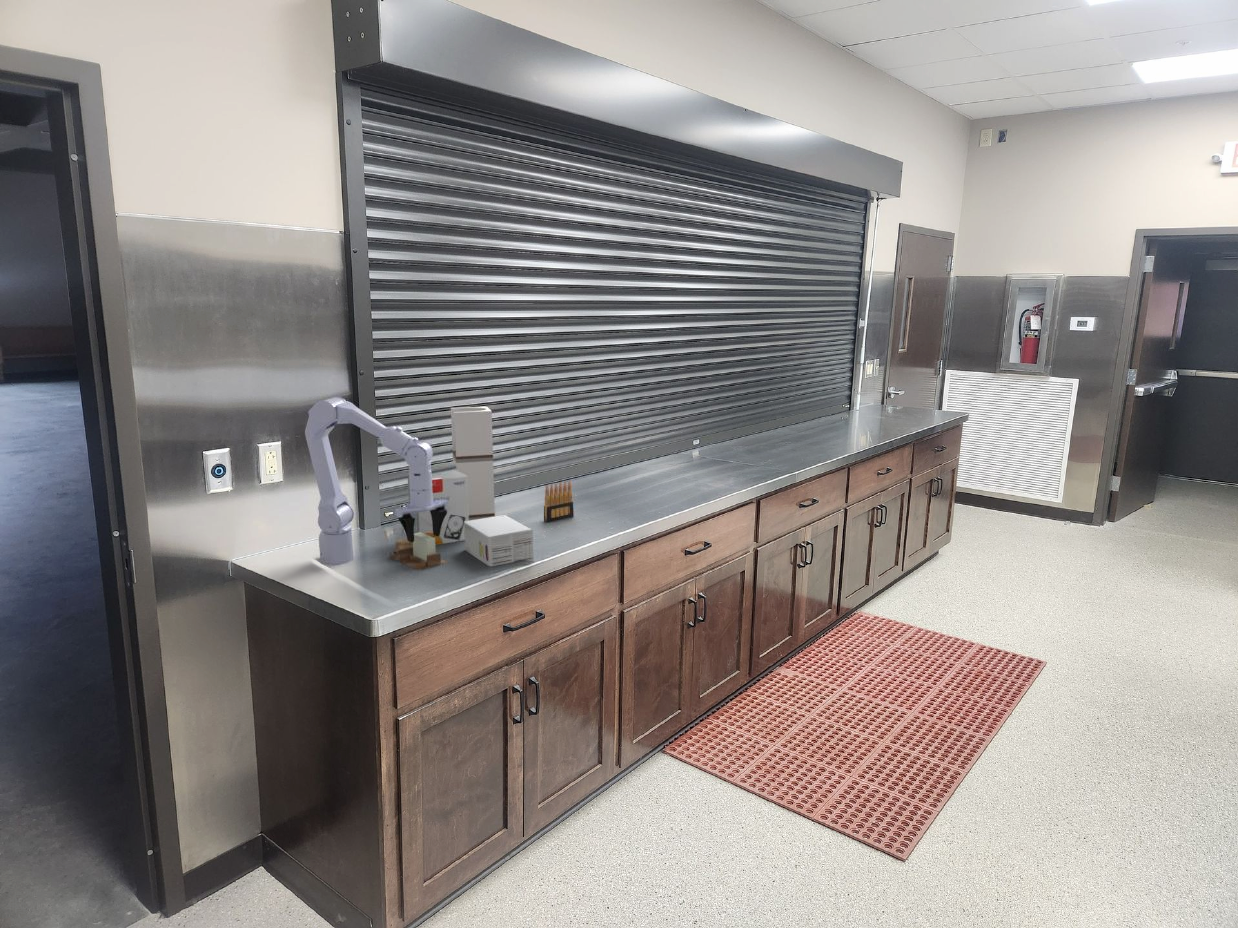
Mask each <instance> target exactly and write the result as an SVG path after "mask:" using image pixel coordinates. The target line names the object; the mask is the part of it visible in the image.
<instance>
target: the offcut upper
mask: <svg viewBox="0 0 1238 928" xmlns="http://www.w3.org/2000/svg"><path fill="white" fill-rule="evenodd" d="M408 547H413V542H409V541H408V539H407V537H406V538H404V539H399V540H395V550H396V549H398V550H400V549H404V548H408Z"/></svg>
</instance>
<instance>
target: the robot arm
mask: <svg viewBox="0 0 1238 928" xmlns="http://www.w3.org/2000/svg"><path fill="white" fill-rule="evenodd" d="M307 413H308V419H307V422H306V426H305V429H304V435H305V436H304V437H305V440H306V442H307V447H308V452H309V455H310V456H309V457H310V461H311V464H312V467H313V471H314V476H315V480H316V484H317V487H318V491H319V497H320V498H319V499H320V500H319V503H318V507H317V510H318V518H317V525H318V527H319V529H320V530H321V531H320V533H319V534H318V535H319V536H318V547H319V557H320V559H322V560H324V562H325V563H326V564H328V565H329V564H330V565H343V564H347V563H350V562H352V561H353V560H354V547H353V533H352V532H353V531H352V525H351V522H353V520H354V517H355V510H354V508H353V507H352V505H350V503H349V501H348V497H347V496H346V495H345V494H344V493H343V492H342V489H341V485H340V481H339V480H340V479H339V476H338V472H337V469H336V465H335V464H336V463H335V459H334V455H333V452H332V447H331V444H330V440H329V439H330V438H329V435H330V433H331V432H332V430H333V429H334V428H335V426H336V425H341V424H343V425H344V424H352V425H354V426H356V427H358V428H360V429H362V430H364V431H365V432H368V433H369V434H371V435H373V436H375V437H376V438H378V439H379V440H380V443H381V445H382V446H383V447H385V449H386V448H387V449H388V450H390V451H391V452H393V453H394V454H397V455H398V456H400V457H401V458H404V461H405V462H406V464H407V465H408V475H409V476H408V477H409V482H410V500H411V504H410V505H409V504H407V505H404V506H401V507H398V508H395V509H394V511H395V512H394V513H395V514H394V515H395V517H396V518H397V519H398V521H399V522H400V525H401V526H402V528H403V530H404V532H405V536H406V538H407V539H408V541H409V542H414V522H415V518H412V516H411V514H415V513H420V512H425V511H430V513H431V517H432V524H433V535H435V536H440V531H441V526H442V523H443V520H444V518H445V516H446V514H447V510H446V509H445V508H448V501H447V500H444V499H443V500H436V501H433V492H432V474H433V473H432V463H431V459H432V458H433V455H434V450H433V447H432V446H431V445H430V444H429V443H428V442H427V441H426V440H419V438H417V437H413V436H411V435H409V434H408V433H406V432H404V431H403V430H404V429H403V428H402V427H401V426H397V427H396V426H395V425H394V426H389V427H387V426H385V425H384V424H382V423H381V422H380V421H378V420H377V419H375V418H373V417H372V416H370V415H369V414H368V413H366V412H365V411H363V410H362V409H360V408H359V407H357V406H356V405H355V404H354V403H353V402H350V401H348V400H347V401H346V399H345V398H343V397H341V396H332V397H330V398H328V399H324V400H319V401H317V402H315V403H314V404H313V406H312V407H311V408H310V409H309V410H308V412H307ZM321 564H322V565H324V566H326V564H324V563H323V562H321ZM329 568H330V569H331V567H330V566H328V569H329Z"/></svg>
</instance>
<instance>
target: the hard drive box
mask: <svg viewBox="0 0 1238 928" xmlns="http://www.w3.org/2000/svg"><path fill="white" fill-rule="evenodd" d="M407 488H408V489H407V490H408V492H407V493H408V505H410V504H411V500H410V482H409V476H407ZM432 492H433V501H436V500H443V499H444V500H447V501H448V508H445V509H446V510H447V514H446V516H445V518H444V520H443V523H442V526H441V531H440V536H435V535H433V524H432V517H431V513H430V511H425V512H420V513H415V514H411V516H412V518H415V522H414V533H418V532H421V533H424V534H426V535H428V536H431V537H433V538H435V546H437V545H438V546H439V545H444V544H450V543H456V542H461V541H462V542H463V541H465V534H464V522H465V521H469V511H468V476H467V475H465V474H463V473H461V472H459V471H458V472H457V471H447V472H438V473H432Z"/></svg>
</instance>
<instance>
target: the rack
mask: <svg viewBox="0 0 1238 928" xmlns="http://www.w3.org/2000/svg"><path fill="white" fill-rule="evenodd" d="M397 551H398V555H397V554H396V551H395V550H394V551H391V552H389V558H391V559H393V560H395V561H396V562H400V563H401V564H404V565H406V566H407V567H410V568H412V569H414V570H416V571H421V570H425V569H430V568H433V567H436V566H440V565H445V564H449V562H448V561H446V560H443V559H441V553H440V552H436V554H432V555H428V556H427V562H426V561H424V560H422V559H420V558H418V557H416V556H413V547H408V548H404V549H400V550H397Z"/></svg>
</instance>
